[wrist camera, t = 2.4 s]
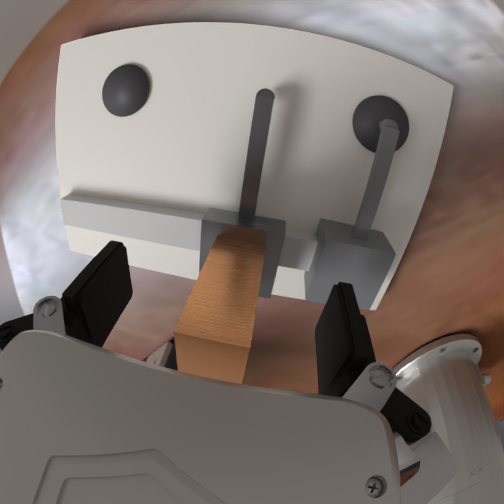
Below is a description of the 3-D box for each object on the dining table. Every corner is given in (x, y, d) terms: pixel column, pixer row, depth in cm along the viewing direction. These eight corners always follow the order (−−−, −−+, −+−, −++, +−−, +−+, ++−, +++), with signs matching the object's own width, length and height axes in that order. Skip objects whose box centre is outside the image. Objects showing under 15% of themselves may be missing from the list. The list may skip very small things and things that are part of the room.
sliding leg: (309, 96, 11) (347, 90, 4) (272, 275, 17) (259, 398, 10) (226, 84, 11) (144, 68, 4) (207, 263, 17) (160, 377, 10)
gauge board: (441, 85, 11) (478, 87, 8) (371, 297, 20) (382, 335, 16) (74, 45, 12) (35, 44, 8) (80, 241, 20) (52, 267, 17)
